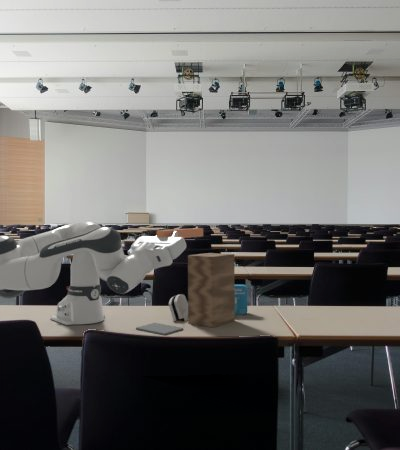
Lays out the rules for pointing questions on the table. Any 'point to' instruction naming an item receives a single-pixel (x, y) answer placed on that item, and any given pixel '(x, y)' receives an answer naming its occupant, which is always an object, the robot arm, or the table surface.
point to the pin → (181, 232)
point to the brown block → (211, 289)
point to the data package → (240, 299)
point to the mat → (159, 328)
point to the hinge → (179, 307)
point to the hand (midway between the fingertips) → (171, 233)
